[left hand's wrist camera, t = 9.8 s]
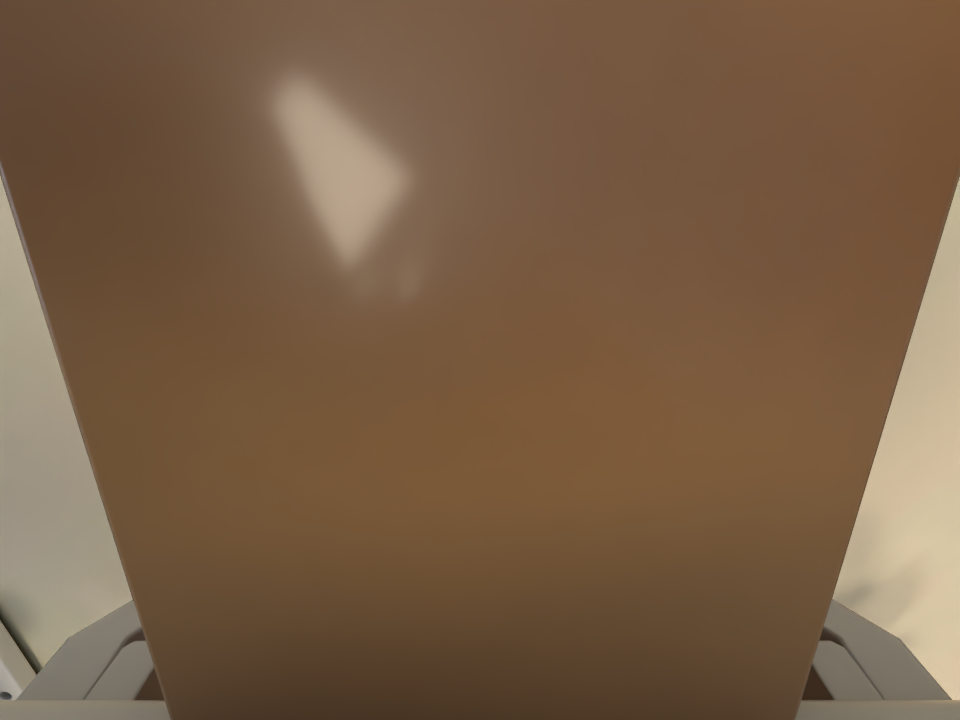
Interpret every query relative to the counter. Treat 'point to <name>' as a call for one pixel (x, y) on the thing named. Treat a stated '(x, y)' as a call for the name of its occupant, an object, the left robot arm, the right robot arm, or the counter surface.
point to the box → (481, 332)
